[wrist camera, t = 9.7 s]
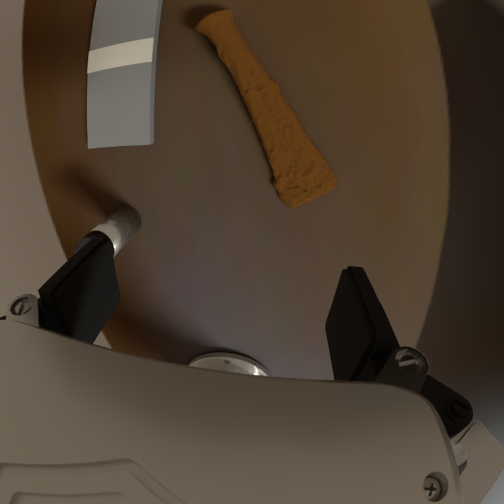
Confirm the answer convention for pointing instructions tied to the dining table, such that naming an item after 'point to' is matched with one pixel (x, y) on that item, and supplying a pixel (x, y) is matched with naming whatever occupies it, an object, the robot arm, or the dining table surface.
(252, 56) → the primitive tool
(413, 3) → the dining table surface
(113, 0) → the panel
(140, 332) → the dining table surface
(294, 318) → the dining table surface
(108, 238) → the steel peg
